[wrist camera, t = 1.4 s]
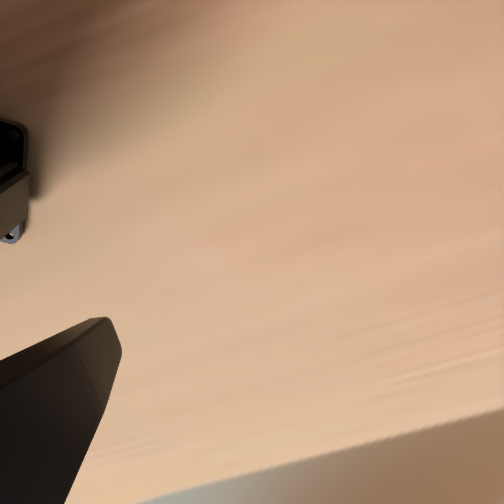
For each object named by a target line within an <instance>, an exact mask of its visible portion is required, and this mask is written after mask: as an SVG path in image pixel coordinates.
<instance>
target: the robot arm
mask: <svg viewBox="0 0 504 504" xmlns="http://www.w3.org/2000/svg"><path fill="white" fill-rule="evenodd" d="M12 130H14V131H16V132H17V133H18V135H19V138H16V137H14V135H13V133H12ZM27 151H28V132H27V130H26V128H25V127H24V126H23V125H21V124H19V123H17V122H14V121H11V120H7V119H4V118H1V117H0V241H2V242H5V243H9V244H14V243H16V242H17V241H18V240H19V239H20V238H21V237H22V231H23V220H24V219H26V218H27V214H28V199H29V184H30V174H29V172H28V170H27V169H26V167H27ZM9 232H11V233H12V234H13V236H11V235H10V234H9ZM121 355H122V348H121V344H120V341H119V339H118V336H117V334H116V331H115V328H114V326H113V323H112V321H111V320H110V319H109V318H108V317H97V318H91V319H88V320H86V321H84V322H82V323H79V324H77V325H75V326H73V327H71V328H69V329H67V330H64V331H62V332H60V333H58V334H56V335H54V336H52V337H49V338H47V339H45V340H43V341H41V342H39V343H37V344H34V345H32V346H30V347H28V348H26V349H24V350H22V351H20V352H17V353H15V354H13V355H11V356H9V357H7V358H5V359H2V360H0V504H64V503H65V501H66V499H67V496H68V494H69V492H70V489H71V487H72V485H73V483H74V480H75V478H76V476H77V473H78V471H79V469H80V467H81V464H82V462H83V460H84V457H85V455H86V453H87V451H88V448H89V446H90V444H91V441H92V439H93V437H94V435H95V432H96V430H97V428H98V426H99V423H100V421H101V419H102V416H103V414H104V411H105V408H106V406H107V403H108V400H109V396H110V393H111V390H112V386H113V383H114V380H115V376H116V373H117V370H118V367H119V363H120V360H121Z"/></svg>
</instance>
